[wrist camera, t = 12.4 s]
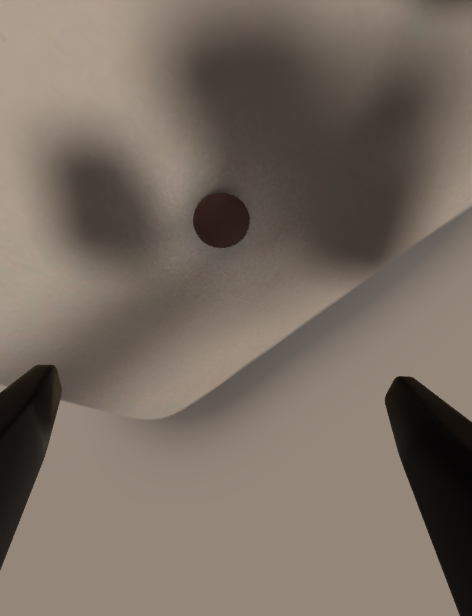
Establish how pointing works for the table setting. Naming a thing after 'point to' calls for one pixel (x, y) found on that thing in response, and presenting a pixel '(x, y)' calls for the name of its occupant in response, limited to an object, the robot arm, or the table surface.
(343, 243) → the table surface
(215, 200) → the chocolate truffle
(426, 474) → the robot arm
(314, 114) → the table surface
